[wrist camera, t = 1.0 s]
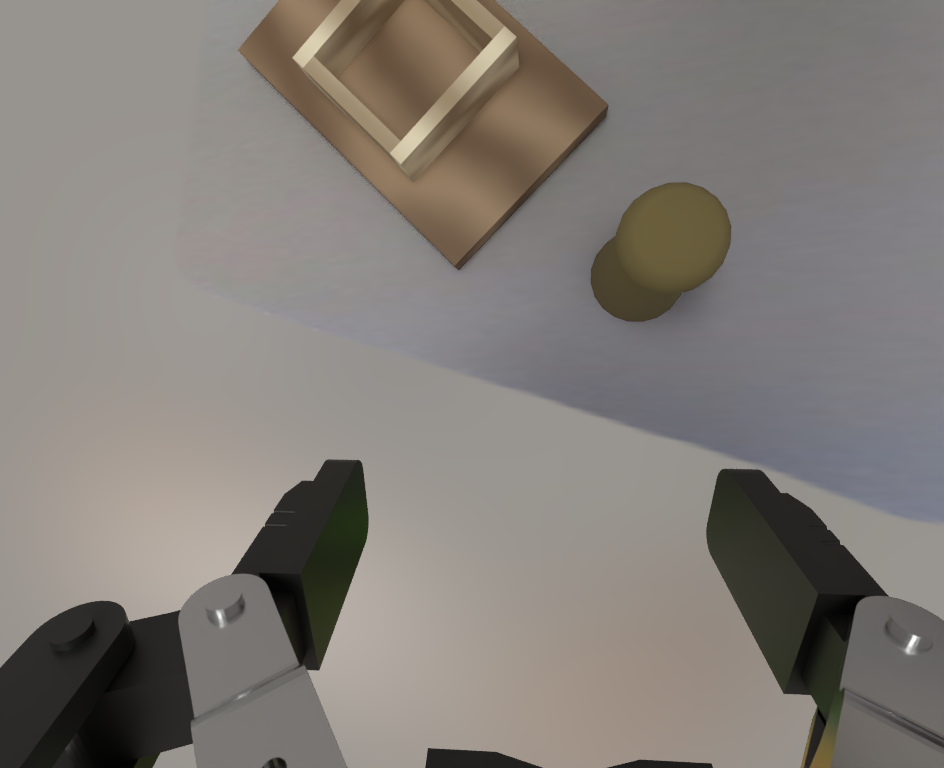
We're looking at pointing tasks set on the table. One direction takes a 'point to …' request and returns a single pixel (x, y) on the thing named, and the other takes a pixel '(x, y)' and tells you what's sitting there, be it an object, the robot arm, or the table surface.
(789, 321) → the table surface
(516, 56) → the collar board
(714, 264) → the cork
